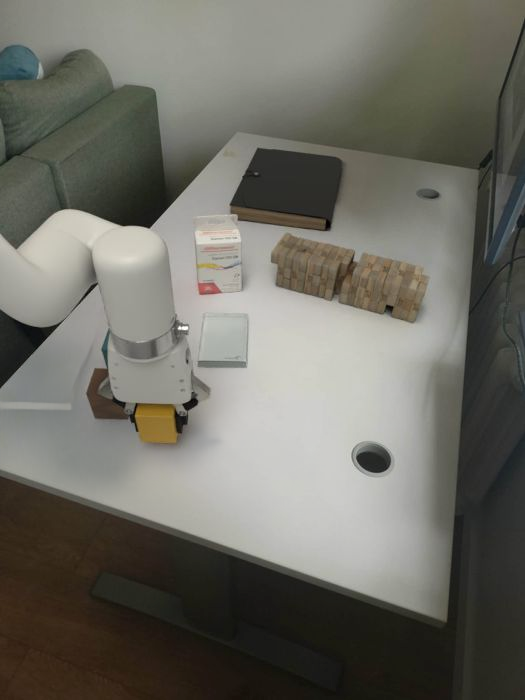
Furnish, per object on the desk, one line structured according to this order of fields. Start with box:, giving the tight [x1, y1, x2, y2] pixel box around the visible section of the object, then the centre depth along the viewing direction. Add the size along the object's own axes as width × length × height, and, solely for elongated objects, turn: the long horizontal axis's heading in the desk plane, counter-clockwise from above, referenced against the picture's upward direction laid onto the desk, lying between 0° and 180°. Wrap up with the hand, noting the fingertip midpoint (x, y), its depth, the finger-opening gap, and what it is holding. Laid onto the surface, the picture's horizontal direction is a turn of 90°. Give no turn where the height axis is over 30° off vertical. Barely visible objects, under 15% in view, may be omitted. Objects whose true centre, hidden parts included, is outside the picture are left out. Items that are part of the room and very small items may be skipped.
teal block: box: [100, 328, 110, 368], centre depth 81 cm, size 5×5×6 cm
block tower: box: [270, 232, 430, 324], centre depth 96 cm, size 8×8×29 cm
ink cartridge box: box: [193, 214, 243, 295], centre depth 94 cm, size 9×5×15 cm, turn 100°
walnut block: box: [85, 367, 130, 420], centre depth 75 cm, size 5×5×6 cm
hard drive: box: [197, 312, 249, 369], centre depth 87 cm, size 2×8×12 cm
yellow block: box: [135, 403, 179, 444], centre depth 69 cm, size 5×5×6 cm
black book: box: [229, 147, 343, 232], centre depth 126 cm, size 33×4×24 cm
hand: (160, 423), depth 70 cm, fingers closed on yellow block, 5 cm apart
